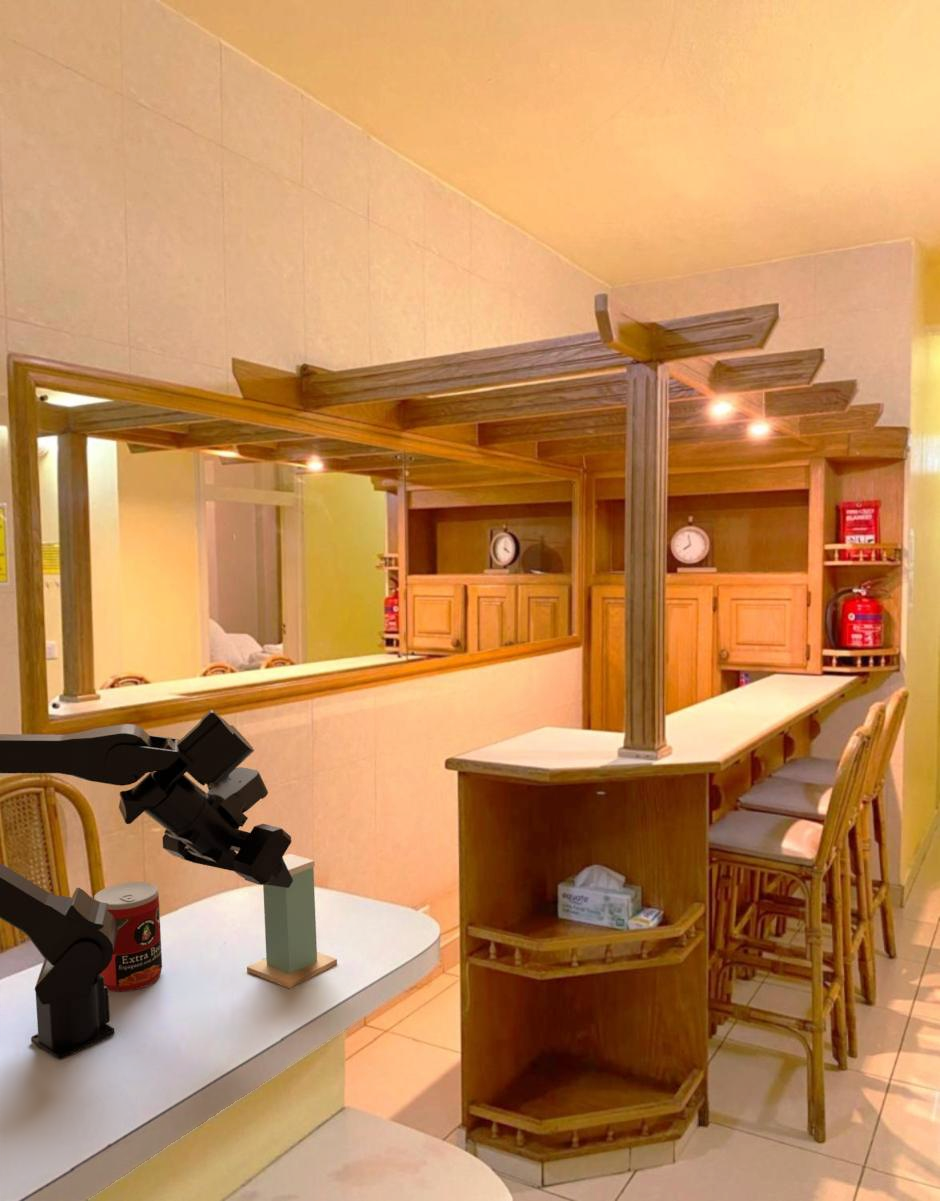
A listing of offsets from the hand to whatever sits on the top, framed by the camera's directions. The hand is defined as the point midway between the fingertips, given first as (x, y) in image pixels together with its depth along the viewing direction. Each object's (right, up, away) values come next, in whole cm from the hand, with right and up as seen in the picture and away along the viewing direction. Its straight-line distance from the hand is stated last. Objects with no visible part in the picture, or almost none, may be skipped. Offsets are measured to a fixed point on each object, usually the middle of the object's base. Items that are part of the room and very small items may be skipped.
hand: (266, 876), depth 114 cm
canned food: (-17, -14, +2) cm, 22 cm away
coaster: (+3, -13, +3) cm, 13 cm away
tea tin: (+3, -12, +3) cm, 13 cm away
